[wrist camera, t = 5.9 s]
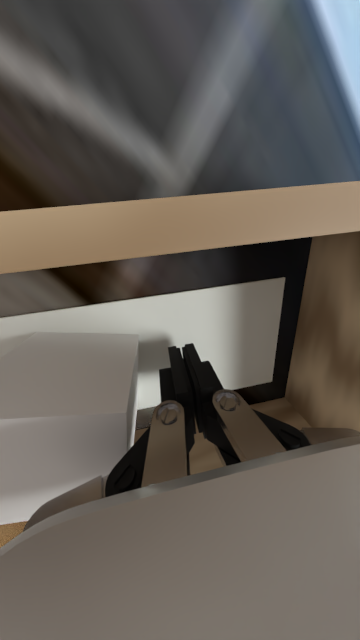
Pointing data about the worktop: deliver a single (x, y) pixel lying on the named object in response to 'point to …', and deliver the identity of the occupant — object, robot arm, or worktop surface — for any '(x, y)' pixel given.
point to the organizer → (224, 231)
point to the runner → (177, 330)
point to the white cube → (63, 415)
